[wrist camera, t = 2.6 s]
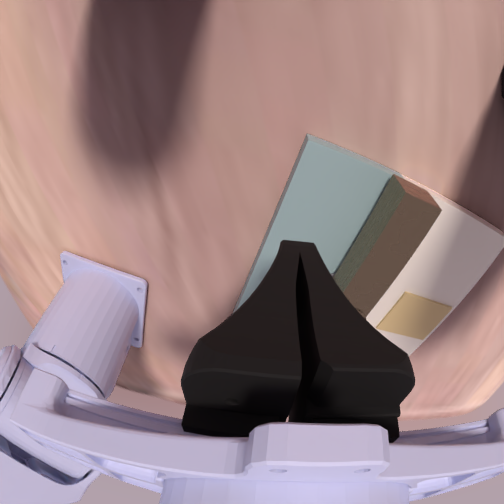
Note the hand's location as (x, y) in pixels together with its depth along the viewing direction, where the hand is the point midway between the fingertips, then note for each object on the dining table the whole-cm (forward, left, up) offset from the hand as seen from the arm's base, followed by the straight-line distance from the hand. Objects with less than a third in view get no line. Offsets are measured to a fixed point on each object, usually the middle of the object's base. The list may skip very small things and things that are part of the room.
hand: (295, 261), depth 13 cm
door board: (-5, -7, -7) cm, 11 cm away
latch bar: (-2, -5, -5) cm, 8 cm away
